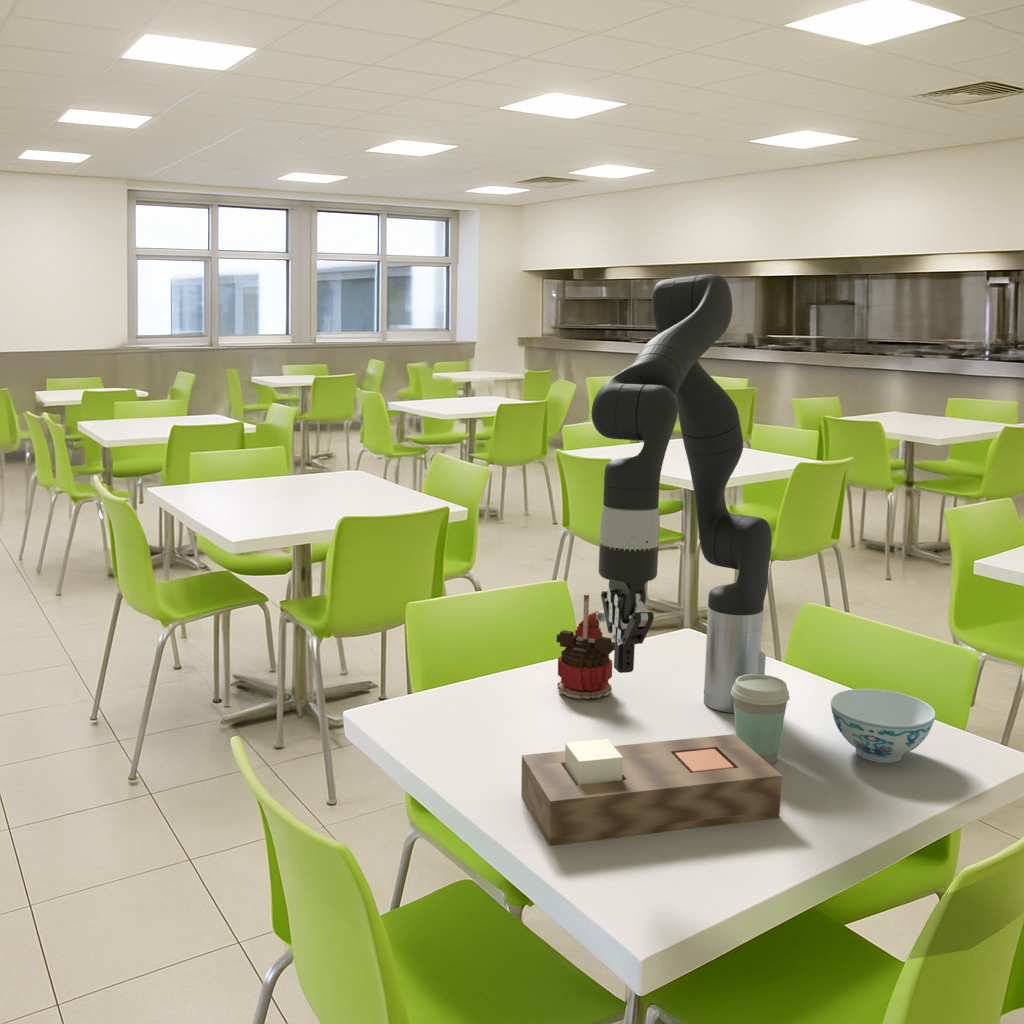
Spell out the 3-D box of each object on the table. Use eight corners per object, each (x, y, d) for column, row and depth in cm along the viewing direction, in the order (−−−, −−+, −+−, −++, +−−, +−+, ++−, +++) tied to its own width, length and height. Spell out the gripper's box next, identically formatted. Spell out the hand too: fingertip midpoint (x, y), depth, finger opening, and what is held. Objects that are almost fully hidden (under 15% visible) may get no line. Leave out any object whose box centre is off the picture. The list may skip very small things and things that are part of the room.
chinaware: (950, 758, 154) (955, 710, 153) (894, 784, 145) (898, 733, 144) (864, 726, 166) (867, 681, 165) (807, 749, 157) (810, 702, 156)
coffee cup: (787, 750, 157) (792, 676, 154) (783, 773, 149) (788, 695, 146) (731, 742, 159) (735, 669, 157) (724, 764, 151) (728, 688, 149)
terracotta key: (713, 775, 143) (714, 748, 143) (732, 794, 138) (733, 766, 137) (673, 779, 142) (674, 752, 141) (691, 799, 136) (692, 771, 135)
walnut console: (732, 772, 149) (734, 734, 148) (779, 817, 135) (782, 775, 134) (521, 795, 141) (521, 755, 140) (549, 845, 128) (550, 801, 127)
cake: (545, 695, 179) (547, 596, 175) (568, 679, 187) (570, 584, 184) (601, 706, 174) (603, 605, 170) (622, 689, 182) (625, 592, 178)
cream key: (606, 766, 139) (607, 738, 138) (621, 785, 133) (622, 757, 132) (564, 770, 137) (565, 743, 137) (578, 790, 132) (579, 761, 131)
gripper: (677, 550, 124) (670, 685, 127) (636, 530, 137) (631, 653, 140) (620, 552, 122) (614, 689, 125) (584, 532, 135) (579, 657, 138)
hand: (623, 670), depth 133 cm, fingers closed
